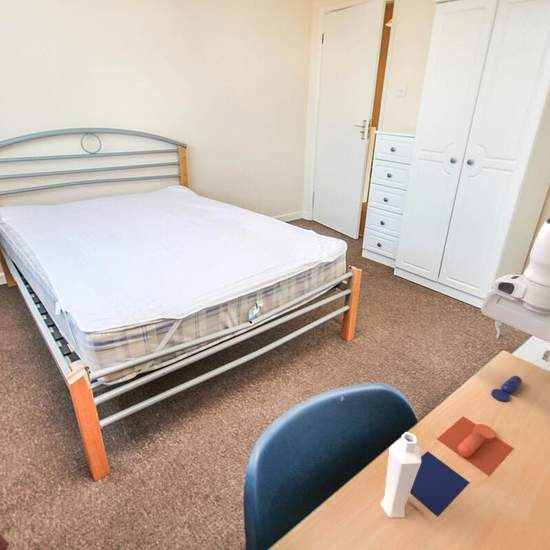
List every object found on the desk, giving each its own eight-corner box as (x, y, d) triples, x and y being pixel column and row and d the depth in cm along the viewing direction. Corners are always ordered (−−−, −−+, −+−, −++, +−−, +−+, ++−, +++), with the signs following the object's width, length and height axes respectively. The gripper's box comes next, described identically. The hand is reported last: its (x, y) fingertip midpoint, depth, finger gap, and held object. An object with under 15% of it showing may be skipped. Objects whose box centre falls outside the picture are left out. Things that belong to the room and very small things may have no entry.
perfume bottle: (415, 515, 60) (434, 445, 54) (392, 525, 58) (408, 454, 52) (396, 489, 64) (412, 422, 58) (374, 498, 62) (388, 429, 56)
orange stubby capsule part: (469, 464, 68) (472, 455, 67) (450, 451, 70) (453, 441, 69) (497, 436, 74) (500, 427, 73) (478, 425, 76) (481, 416, 76)
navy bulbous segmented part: (508, 379, 91) (511, 370, 90) (524, 387, 88) (527, 379, 87) (487, 397, 85) (490, 388, 84) (504, 406, 82) (507, 398, 81)
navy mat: (427, 453, 71) (427, 450, 70) (469, 484, 65) (469, 482, 65) (394, 482, 65) (394, 479, 65) (436, 519, 59) (437, 516, 59)
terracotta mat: (462, 418, 79) (463, 416, 79) (513, 450, 72) (514, 448, 72) (435, 441, 73) (436, 438, 73) (488, 478, 66) (489, 476, 66)
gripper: (611, 309, 72) (583, 368, 78) (499, 272, 87) (483, 324, 92) (601, 319, 68) (573, 380, 74) (486, 278, 83) (470, 332, 89)
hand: (522, 349), depth 83 cm, fingers open, 8 cm apart
